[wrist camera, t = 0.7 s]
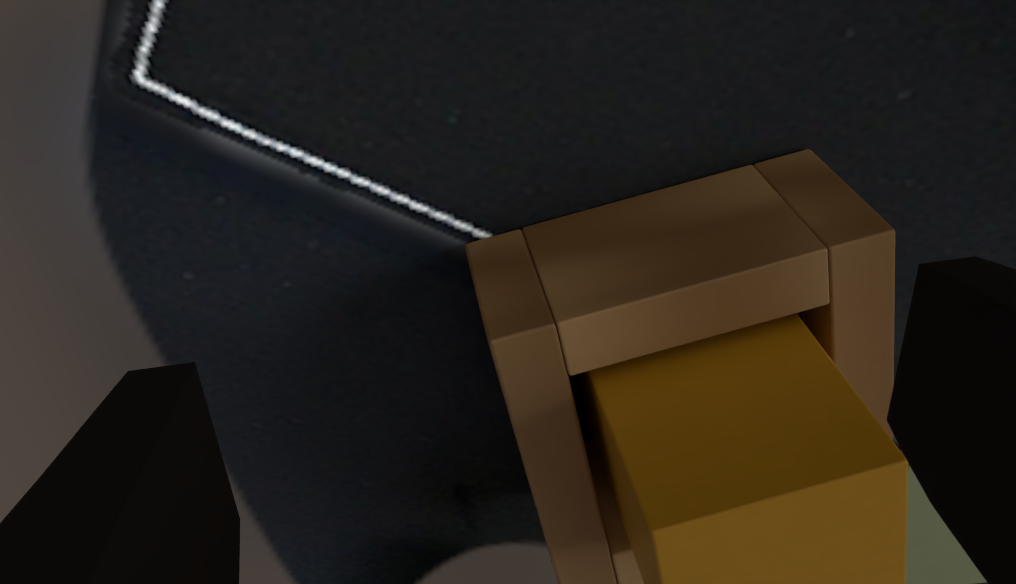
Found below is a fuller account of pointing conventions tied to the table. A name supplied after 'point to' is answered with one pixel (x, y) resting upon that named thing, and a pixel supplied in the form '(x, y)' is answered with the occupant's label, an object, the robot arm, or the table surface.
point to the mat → (933, 544)
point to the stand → (672, 315)
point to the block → (749, 463)
